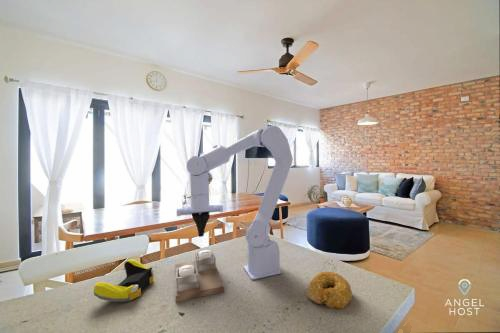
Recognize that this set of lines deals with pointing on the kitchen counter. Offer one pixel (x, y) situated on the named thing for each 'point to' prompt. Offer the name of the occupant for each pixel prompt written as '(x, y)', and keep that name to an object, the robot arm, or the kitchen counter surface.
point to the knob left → (186, 270)
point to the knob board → (198, 279)
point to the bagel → (330, 290)
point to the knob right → (205, 254)
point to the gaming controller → (126, 283)
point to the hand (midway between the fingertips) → (200, 235)
